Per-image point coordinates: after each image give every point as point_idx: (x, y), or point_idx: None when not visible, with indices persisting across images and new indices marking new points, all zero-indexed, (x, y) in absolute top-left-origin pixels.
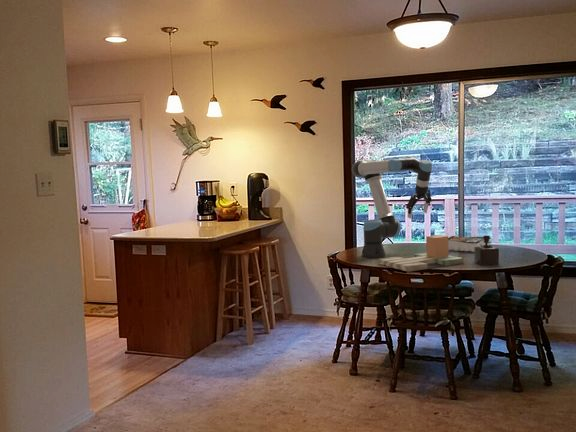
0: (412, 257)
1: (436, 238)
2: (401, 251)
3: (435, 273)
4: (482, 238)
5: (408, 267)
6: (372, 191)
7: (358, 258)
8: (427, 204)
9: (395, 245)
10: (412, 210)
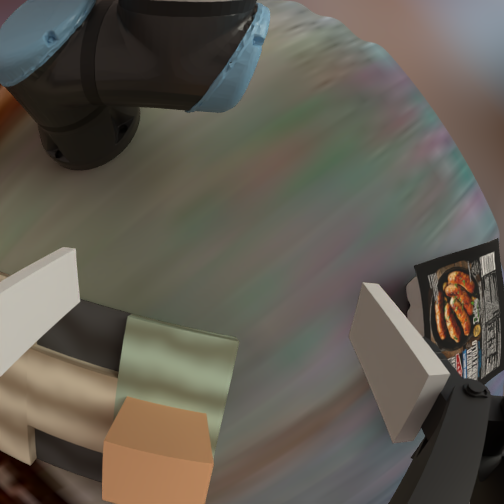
0: (61, 361)
1: (111, 500)
2: (258, 139)
3: (21, 494)
4: (495, 357)
5: None
6: None
7: (29, 118)
8: (392, 438)
9: (347, 59)
10: (6, 366)
